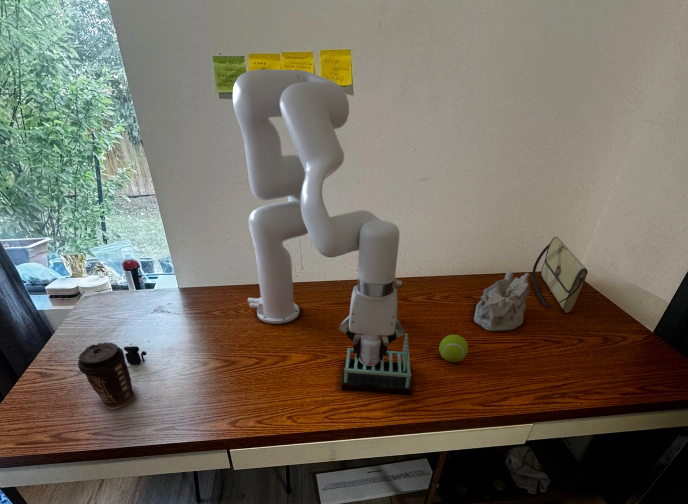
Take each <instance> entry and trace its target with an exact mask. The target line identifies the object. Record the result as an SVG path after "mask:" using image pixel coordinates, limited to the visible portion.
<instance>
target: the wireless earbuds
mask: <svg viewBox="0 0 688 504" xmlns="http://www.w3.org/2000/svg"><path fill="white" fill-rule="evenodd" d="M123 351H125V352H126V353H124V356H125V360H126V362H127V364H130V365H139V364H141V363H146V360H145V357H144V356H146V355H148V354H147V352H146V351H145V350H142V351H141V353H139V352H140V347H139V346H134V345H132V346H131V345H130V346H124V347H123Z"/></svg>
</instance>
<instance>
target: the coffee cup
mask: <svg viewBox="0 0 688 504" xmlns="http://www.w3.org/2000/svg"><path fill="white" fill-rule="evenodd" d="M126 362H127V361H126V356H125V352H124V349H122V348H121V347H119V346H118V345H117V344H116V343H114V342H101V343H100V342H99V343H97V344H92V345H90V346H87V347H86V348H85V349H84V350H83V351H81V352H80V354H79V355H78V362H77V366H78V369H79V371H80V372H81V373H82V374H83V375H85V377H86V380H87V381H88V383H89V385H90V386H91V387H92V389H93V391H94V392H95V393H96V394H97V395H98V396H99V397H100V399H101V403H102V405H103V407H105V408H107V409H110V410H117V409H120V408H123V407H125V406H126V405H127V404H129V403H130V402H132V400H133V398H134V397H135V392H134V390H133V385H132V377H131V375H130V371H129V367H128V365H127V363H126Z"/></svg>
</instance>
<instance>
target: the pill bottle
mask: <svg viewBox="0 0 688 504" xmlns="http://www.w3.org/2000/svg"><path fill="white" fill-rule="evenodd" d="M381 340H382V336H381V335H372V334H361V336H360V353H359V358H358V359H359V360H360V362H361V363H362V364H364V365H367V366H374V365H376V364H378V362H379V361H381V360H380V351H381Z"/></svg>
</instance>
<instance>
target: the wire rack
mask: <svg viewBox="0 0 688 504" xmlns="http://www.w3.org/2000/svg"><path fill="white" fill-rule="evenodd" d="M408 336H409V335H408V333H405V334H404V339H403V347H402V351H395V350H387V354H386V355H383V361H382V360H379V362H378V364H376V365H374V366H367V365H364V364H362V363H361V362H360V360H359V358H358V359H356V354H355V355H354V358H351V357H352V353H353V350H354V347H347V348H346V357H345V358H344V363H343V370H342V377H341V385H340V387H341V388H340V389H341V390H342V391H354V392H355V391H356V392H366V393H379V394H391V395H402V396H403V395H404V396H411V395H412V390H413V389H412V373H411V361H410V355H411V354H410V349H409V347H410V345H409V337H408ZM385 356H388V360H385ZM393 356H397V361H393Z"/></svg>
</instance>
